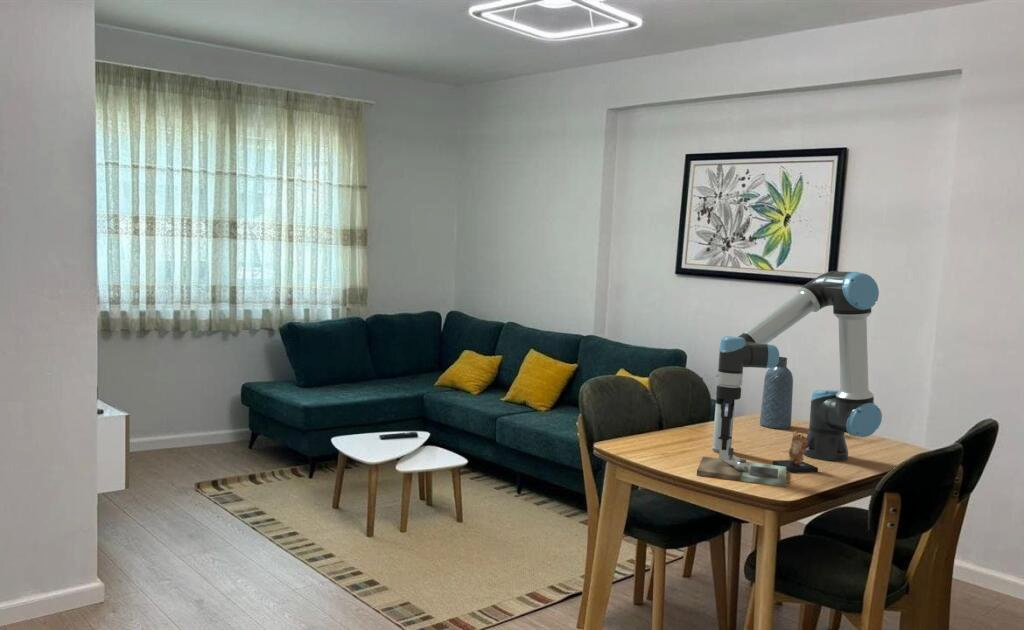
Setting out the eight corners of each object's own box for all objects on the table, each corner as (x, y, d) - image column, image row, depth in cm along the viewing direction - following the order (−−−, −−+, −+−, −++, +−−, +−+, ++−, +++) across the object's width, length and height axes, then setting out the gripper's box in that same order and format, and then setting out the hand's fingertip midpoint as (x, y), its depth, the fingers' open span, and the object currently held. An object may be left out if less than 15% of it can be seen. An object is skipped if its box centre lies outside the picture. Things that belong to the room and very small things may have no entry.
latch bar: (750, 471, 259) (751, 457, 259) (739, 471, 259) (740, 457, 258) (732, 460, 272) (733, 447, 271) (721, 460, 271) (722, 447, 271)
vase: (761, 427, 339) (767, 358, 336) (757, 422, 351) (763, 354, 348) (793, 430, 337) (798, 360, 335) (788, 424, 349) (793, 356, 346)
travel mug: (732, 454, 289) (736, 396, 287) (712, 452, 290) (716, 394, 289) (731, 450, 295) (735, 393, 294) (712, 448, 296) (716, 392, 295)
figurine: (817, 472, 271) (820, 435, 270) (790, 473, 268) (793, 435, 267) (798, 464, 280) (801, 428, 279) (772, 464, 277) (775, 428, 276)
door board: (785, 471, 269) (786, 458, 269) (785, 486, 250) (786, 473, 250) (702, 460, 277) (703, 448, 277) (696, 475, 258) (697, 462, 258)
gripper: (718, 381, 273) (712, 453, 275) (715, 387, 261) (709, 462, 263) (742, 384, 271) (736, 456, 273) (740, 389, 259) (734, 465, 260)
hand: (723, 459), depth 268 cm, fingers closed
